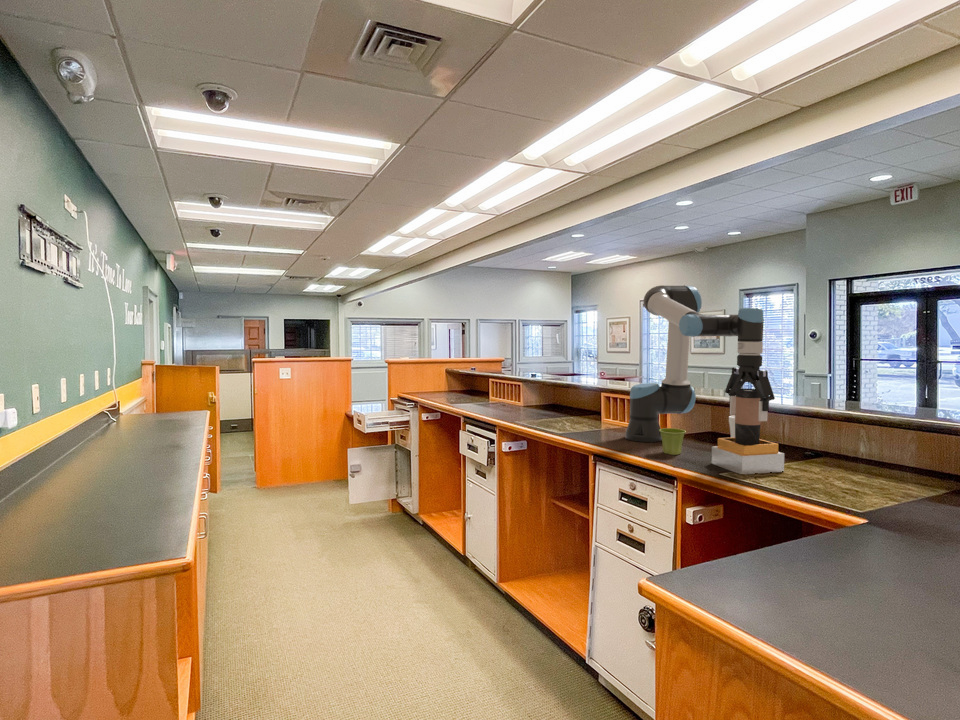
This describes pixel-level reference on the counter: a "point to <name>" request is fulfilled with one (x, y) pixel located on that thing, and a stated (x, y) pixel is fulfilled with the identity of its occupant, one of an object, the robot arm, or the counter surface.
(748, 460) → the grey and brown box
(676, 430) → the plant pot
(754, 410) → the travel mug
